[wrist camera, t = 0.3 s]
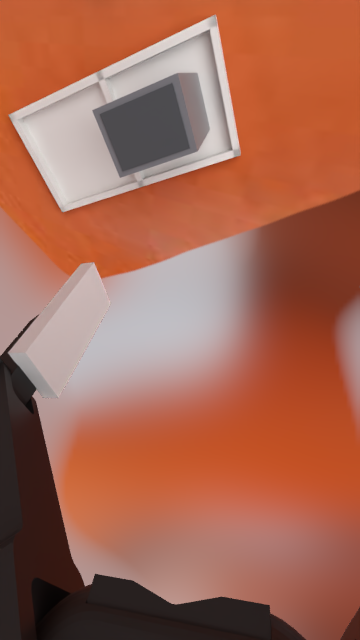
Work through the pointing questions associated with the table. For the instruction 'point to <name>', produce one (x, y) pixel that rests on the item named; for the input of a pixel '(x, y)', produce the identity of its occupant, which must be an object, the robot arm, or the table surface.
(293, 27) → the table surface
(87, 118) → the dock
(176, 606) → the robot arm
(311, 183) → the table surface
